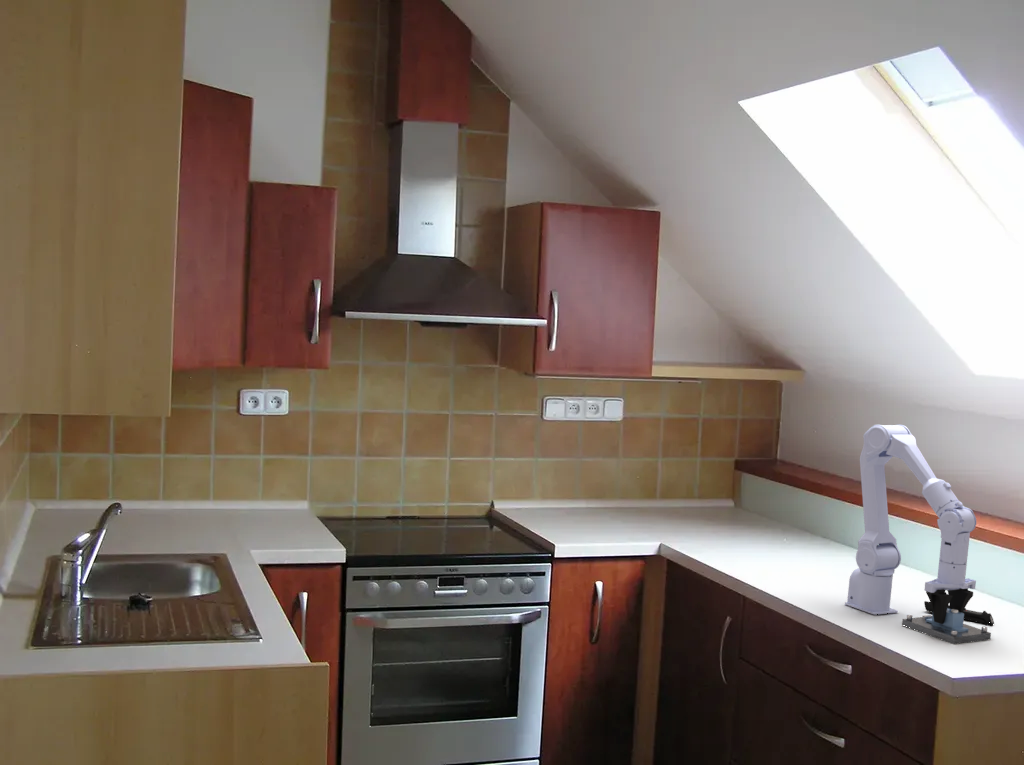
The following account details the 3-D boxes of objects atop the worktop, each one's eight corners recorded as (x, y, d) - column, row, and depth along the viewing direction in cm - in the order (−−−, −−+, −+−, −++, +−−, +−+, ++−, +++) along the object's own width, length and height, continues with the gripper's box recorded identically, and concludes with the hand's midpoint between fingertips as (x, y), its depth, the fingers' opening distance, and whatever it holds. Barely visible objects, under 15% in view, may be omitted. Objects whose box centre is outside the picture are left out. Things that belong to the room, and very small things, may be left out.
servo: (925, 627, 251) (927, 603, 251) (935, 626, 253) (938, 602, 252) (957, 638, 244) (959, 613, 243) (967, 637, 245) (970, 612, 245)
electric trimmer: (925, 611, 268) (926, 598, 268) (994, 624, 260) (995, 611, 260) (921, 614, 265) (923, 601, 264) (992, 627, 257) (993, 614, 256)
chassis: (901, 625, 251) (903, 614, 251) (937, 621, 257) (938, 610, 257) (953, 644, 239) (955, 632, 239) (990, 639, 245) (991, 628, 245)
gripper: (946, 567, 240) (939, 629, 241) (989, 564, 248) (983, 624, 248) (919, 560, 246) (913, 620, 247) (962, 557, 254) (956, 615, 255)
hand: (946, 621), depth 248 cm, fingers open, 5 cm apart
